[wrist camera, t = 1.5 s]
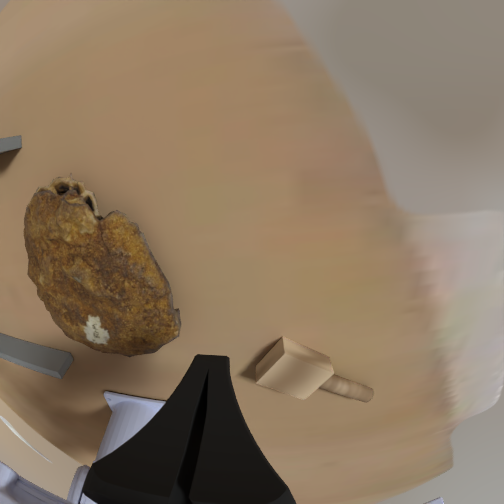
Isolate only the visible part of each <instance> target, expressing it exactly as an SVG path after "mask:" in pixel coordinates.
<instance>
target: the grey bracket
mask: <svg viewBox="0 0 504 504" xmlns="http://www.w3.org/2000/svg"><path fill="white" fill-rule="evenodd" d="M18 148H22V147H21V135H20V136H13V137H7V138H2V139H0V154H1V153H4V152H8V151H11V150H14V149H18ZM0 358H3V359H5V360H8V361H10V362H13V363H15V364H18V365H21V366H23V367H26V368H29V369H32V370H34V371H37V372H40V373H43V374H47V375H50V376H53V377H56V378H59V379H62V378H63V376H64V375H65V373H66V371H67V370H68V368H69V366H70V365H71V363H72V361H73V358H72V355H71V353H69V352H65V351H61V350H57V349H53V348H49V347H45V346H41V345H38V344H34V343H30V342H27V341H24V340H20V339H17V338H14V337H11V336H8V335H5V334H2V333H0Z"/></svg>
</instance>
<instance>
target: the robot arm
mask: <svg viewBox="0 0 504 504" xmlns="http://www.w3.org/2000/svg"><path fill="white" fill-rule="evenodd" d="M104 397H105V399H106V401H107V403H108V405H109V406H110V408H111V410H112V412H113V413H112V415H111V418H110V420H109V423H108V426H107V428H106V431H105V434H104V436H103V439H102V442H101V445H100V448H99V450H98V453H97V456H96V459H95V461H93V464H92V466H91V468H90V467H89V466H87V465H83V466H80V467H78V469H77V471H76V473H75V475H74V478H73V481H72V484H71V487H70V490H69V494H68V497H67V500H65V499H63V498H60V497H58V496H56V495H54V494H52V493H50V492H48V491H46V490H44V489H42V488H40V487H38V486H37V485H35V484H33V483H31V482H29V481H28V480H26V479H24V478H23V477H21V476H19V475H18V474H17V473H16V472H15V471H13V470H12V469H11V468H10V467H8V466H7V465H6V464H4V463H3V462H1V461H0V504H296V502H295V500H294V498H293V496H292V494H291V492H290V490H289V488H288V486H287V485H286V484H285V483H284V481H283V480H282V479H281V478H280V477H279V475H278V474H277V473H276V472H275V470H274V469H273V468H272V466H271V465H270V463H269V462H268V461H267V459H266V458H265V456H264V454H263V453H262V451H261V450H260V448H259V446H258V445H257V443H256V441H255V440H254V438H253V436H252V434H251V432H250V430H249V428H248V426H247V424H246V422H245V420H244V417H243V415H242V413H241V410H240V407H239V405H238V402H237V399H236V396H235V392H234V389H233V385H232V381H231V376H230V361H229V357H227V356H217V355H200V354H197V355H196V356H195V357H194V359H193V361H192V363H191V365H190V367H189V369H188V371H187V372H186V374H185V376H184V377H183V379H182V380H181V382H180V383H179V385H178V386H177V388H176V389H175V391H174V392H173V393H172V395H171V396H170V397H169V399H168V400H167V401H159V400H152V399H145V398H139V397H133V396H128V395H123V394H118V393H113V392H108V391H105V392H104ZM89 469H90V470H89ZM425 504H444V501H443V498H442V497H439V498H436V499H434V500H432V501H429V502H427V503H425Z"/></svg>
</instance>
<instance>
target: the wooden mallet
mask: <svg viewBox="0 0 504 504" xmlns="http://www.w3.org/2000/svg"><path fill="white" fill-rule="evenodd" d="M256 383H257V384H259V385H262V386H265V387H268V388H270V389H273V390H276V391H279V392H282V393H285V394H287V395H290V396H293V397H297V398H300V399H303V400H305V399H306V398H307V397H308V396H309V395H311V394H312V393H313V392H314V391H315V390H316V389H317V388H321V389H324V390H327V391H330V392H333V393H336V394H339V395H343V396H346V397H349V398H352V399H356V400H359V401H362V402H369V401H370V400H371V399H372V398H373V395H374V391H373V389H372V388H370V387H367V386H364V385H361V384H358V383H356V382H353V381H350V380H347V379H345V378H342V377H339V376H336V375H334V371H333V367H332V364H331V360H330V357H328V356H326V355H323V354H321V353H319V352H317V351H314V350H312V349H310V348H307V347H305V346H303V345H301V344H298V343H296V342H294V341H292V340H290V339H287V338H285V337H283V336H282V338H281V339H280V340H279V341H278V342H277V343H276V344H275V345H274V347H273V348H272V349H271V350H270V351H269V352H268V353H267V354H266V355H265V357H264V358H263V359H262V360H261V361H260V362H259V363H258V364H257V365H256Z"/></svg>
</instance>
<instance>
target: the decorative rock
mask: <svg viewBox="0 0 504 504" xmlns="http://www.w3.org/2000/svg"><path fill="white" fill-rule="evenodd" d="M24 225H25V228H24V238H25V247H26V250H27V253H28V259H29V263H28V276H29V277H30V279H31V280H32V281H33V283H34V284H35V285H36V286H37V295H38V297H39V298H40V299H41V300H42V301H44V304H45V307H46V309H47V310H48V311H49V312H50V314H51V316H52V319H53V321H54V322H55V323H56V324H57V325H58V327H60V328H61V329H62V331H63V332H64V333H65V335H66V336H67V337H69V338H71V339H73V340H75V341H78V342H80V343H83V344H85V345H87V346H88V347H90V348H92V349H94V350H97V351H101V352H103V353H116V354H122V355H125V356H128V357H131V356H135V355H141V354H149V353H154V352H156V351H158V350H159V349H160V348H161V347H162V346H163V345H165V344H167V343H169V342H171V341H172V340H174V339H175V338H177V337H179V332H180V327H181V321H180V311H179V308H178V309H175V310H174V309H173V297H172V293H171V289H170V285H169V282H168V281H167V279H166V277H165V276H164V274H163V272H162V270H161V269H160V267H159V265H158V263H157V262H156V260H155V258H154V256H153V254H152V252H151V251H150V249H149V247H148V244H147V242H146V239H145V237H144V234H143V233H142V232H141V231H139V227H138V225H137V223H131V222H130V221H129V219H128V217H127V216H126V214H124V213H122V212H120V211H118V210H116V211H113V212H110V213H109V214H108V215H107V216H106V217H104V218H103V217H102V216H101V215H100V214H99V211H98V206H97V200H96V198H95V195H94V193H93V192H90V191H87V190H86V188H85V185H84V182H83V181H79V182H77V181H75V180H74V179H73V178H72V174H70V175H69V177H68V178H63V177H57V178H55V179H53V180H52V182H51V183H50V184H49V186H44V187H39V188H38V189H37V191H36V193H35V194H34V196H33V197H32V199H31V201H30V203H29V204H28V206H27V208H26V213H25V218H24Z"/></svg>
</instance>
